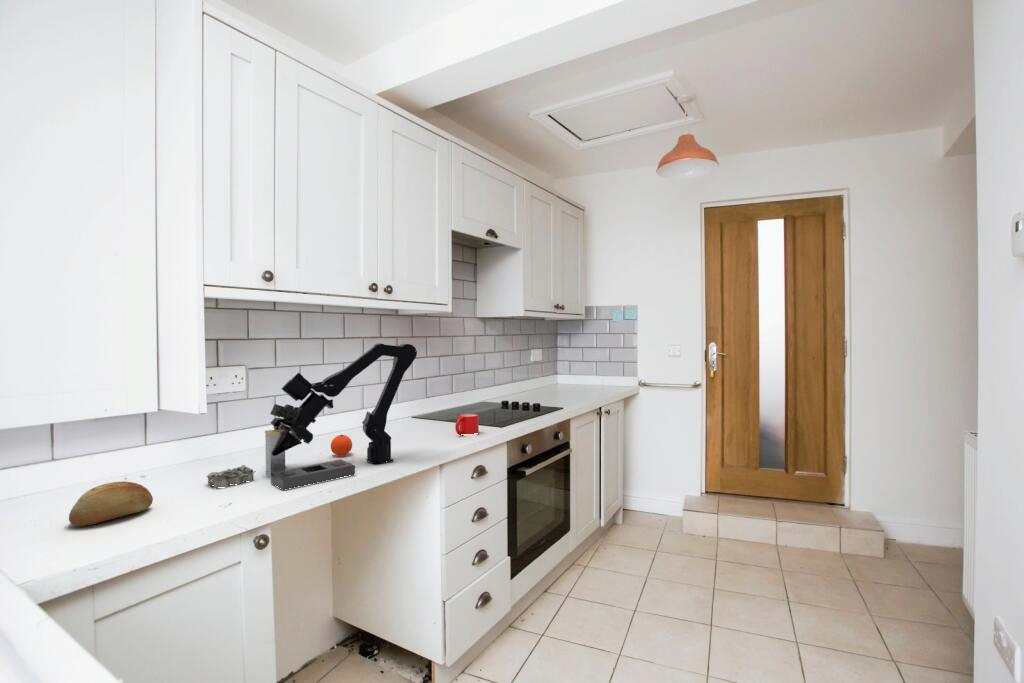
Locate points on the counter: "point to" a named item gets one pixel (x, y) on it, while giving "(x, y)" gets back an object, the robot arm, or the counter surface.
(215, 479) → the egg carton
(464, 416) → the mug
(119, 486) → the bread roll
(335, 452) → the clementine
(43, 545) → the counter surface
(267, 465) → the square bar
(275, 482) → the rack rail
